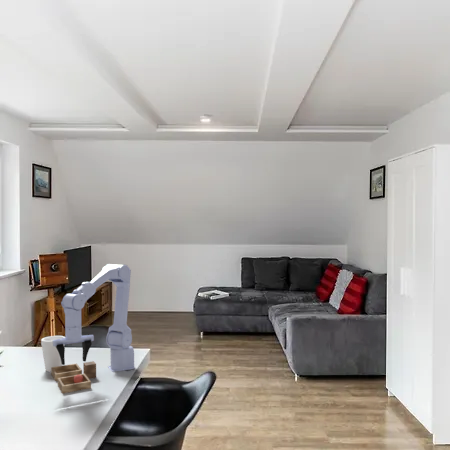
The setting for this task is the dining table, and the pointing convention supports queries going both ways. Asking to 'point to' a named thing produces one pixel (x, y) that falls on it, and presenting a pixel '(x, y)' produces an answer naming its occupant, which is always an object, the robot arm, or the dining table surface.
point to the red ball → (78, 379)
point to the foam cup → (50, 352)
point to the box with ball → (73, 384)
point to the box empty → (65, 371)
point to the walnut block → (90, 369)
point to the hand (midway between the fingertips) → (73, 362)
